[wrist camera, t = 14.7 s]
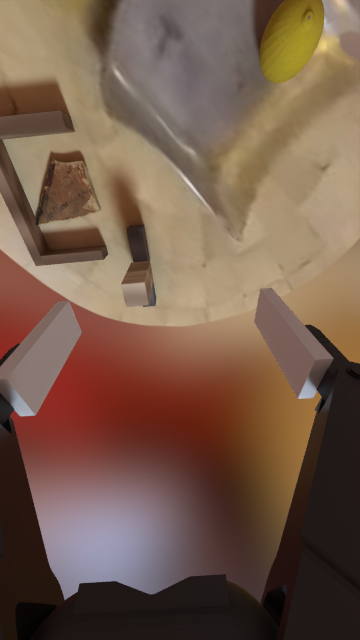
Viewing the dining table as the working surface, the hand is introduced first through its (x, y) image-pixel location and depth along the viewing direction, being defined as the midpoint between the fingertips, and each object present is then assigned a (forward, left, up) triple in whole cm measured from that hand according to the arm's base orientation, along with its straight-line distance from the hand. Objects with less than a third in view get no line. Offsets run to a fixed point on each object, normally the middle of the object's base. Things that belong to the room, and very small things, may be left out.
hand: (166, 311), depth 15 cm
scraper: (+5, -5, -26) cm, 27 cm away
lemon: (-19, +15, -26) cm, 35 cm away
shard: (-6, -15, -26) cm, 31 cm away
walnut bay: (-7, -17, -25) cm, 31 cm away
